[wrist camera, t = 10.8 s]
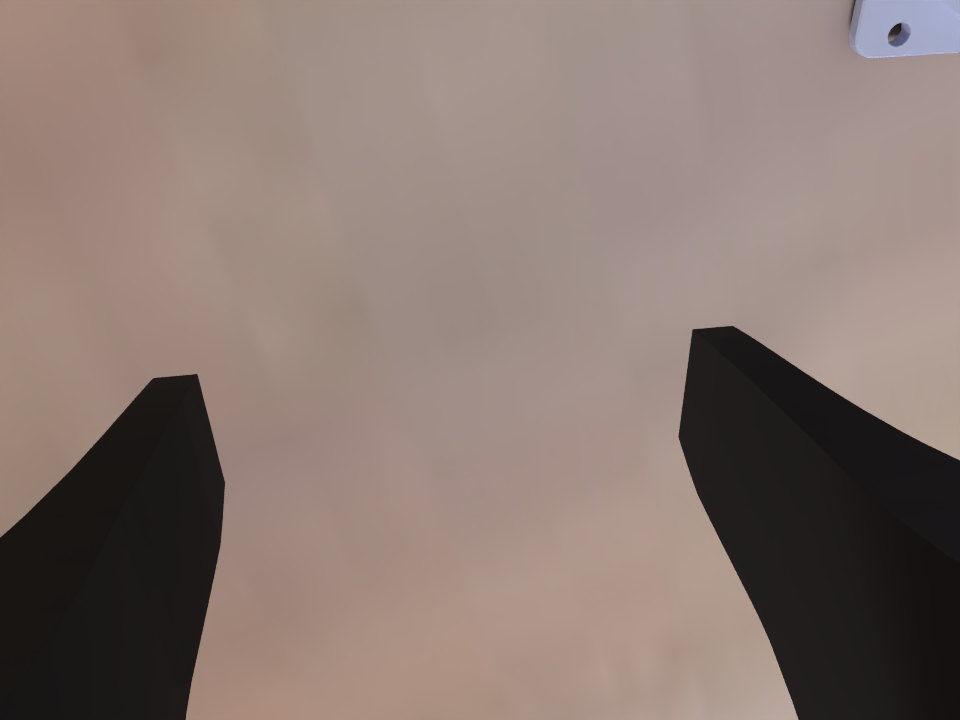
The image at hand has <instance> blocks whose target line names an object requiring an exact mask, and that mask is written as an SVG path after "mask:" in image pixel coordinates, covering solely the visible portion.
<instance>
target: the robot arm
mask: <svg viewBox="0 0 960 720" xmlns="http://www.w3.org/2000/svg"><path fill="white" fill-rule="evenodd" d="M898 23H901V32H900V34H899V36H898V37H897V38H895V39H894V40H893V41H890V42H888V34H889V32H890V29H891V28H892V27H893V26H895V25H896V24H898ZM849 43H850V45H851V48H852V49H853V50H854V51H855V52H857V53H858V54H860V55H862V56H863V57H867V58H882V57H898V56H913V55H929V54H944V53H960V0H856V3H855V7H854V12H853V17H852V22H851V27H850V32H849ZM679 440H680V443H681V446H682V450H683V453H684V456H685V459H686V462H687V465H688V468H689V471H690V474H691V477H692V480H693V483H694V485H695V488H696V491H697V494H698V496H699V498H700V500H701V502H702V504H703V506H704V508H705V510H706V512H707V514H708V516H709V519H710V521H711V523H712V525H713V527H714V529H715V531H716V533H717V535H718V537H719V539H720V541H721V543H722V545H723V547H724V549H725V551H726V552H727V554H728V556H729V558H730V560H731V562H732V564H733V566H734V568H735V570H736V572H737V574H738V576H739V578H740V580H741V582H742V584H743V586H744V588H745V590H746V592H747V594H748V596H749V598H750V600H751V602H752V604H753V606H754V608H755V610H756V612H757V614H758V616H759V618H760V620H761V623H762V625H763V627H764V629H765V632H766V634H767V636H768V638H769V640H770V643H771V646H772V648H773V651H774V654H775V656H776V659H777V662H778V664H779V667H780V670H781V672H782V675H783V678H784V680H785V683H786V686H787V688H788V691H789V694H790V696H791V699H792V702H793V705H794V707H795V710H796V713H797V716H798V719H799V720H960V460H958V459H956V458H953V457H951V456H949V455H947V454H945V453H943V452H941V451H939V450H937V449H935V448H933V447H930V446H928V445H926V444H924V443H922V442H920V441H919V440H917V439H915V438H913V437H911V436H909V435H907V434H905V433H903V432H901V431H900V430H898V429H896V428H894V427H893V426H891V425H889V424H887V423H886V422H884V421H882V420H880V419H879V418H877V417H875V416H873V415H872V414H870V413H868V412H866V411H865V410H863V409H861V408H860V407H858V406H856V405H855V404H853V403H851V402H850V401H848V400H846V399H845V398H843V397H842V396H840V395H838V394H837V393H835V392H834V391H832V390H831V389H829V388H827V387H826V386H824V385H823V384H821V383H820V382H818V381H817V380H815V379H814V378H812V377H811V376H809V375H807V374H806V373H804V372H803V371H801V370H800V369H798V368H797V367H795V366H794V365H792V364H791V363H789V362H788V361H786V360H785V359H783V358H782V357H781V356H779V355H778V354H776V353H775V352H773V351H772V350H770V349H769V348H767V347H766V346H764V345H763V344H761V343H760V342H758V341H756V340H755V339H753V338H752V337H750V336H749V335H747V334H745V333H744V332H742V331H740V330H739V329H737V328H735V327H734V326H726V327H715V328H704V329H693V330H692V338H691V346H690V353H689V361H688V368H687V376H686V384H685V391H684V399H683V407H682V414H681V422H680V430H679ZM224 489H225V481H224V477H223V473H222V470H221V466H220V462H219V458H218V454H217V450H216V446H215V442H214V438H213V434H212V430H211V426H210V422H209V418H208V414H207V410H206V406H205V402H204V399H203V395H202V391H201V387H200V383H199V379H198V375H197V374H194V375H183V376H172V377H161V378H153V379H152V380H151V381H150V382H149V384H148V385H147V386H146V387H145V388H144V389H143V390H142V391H141V392H140V394H139V395H138V396H137V397H136V398H135V399H134V400H133V401H132V403H131V404H130V405H129V406H128V407H127V408H126V409H125V411H124V412H123V413H122V414H121V415H120V416H119V417H118V419H117V420H116V421H115V422H114V423H113V424H112V425H111V427H110V428H109V429H108V430H107V431H106V432H105V433H104V435H103V436H102V437H101V438H100V439H99V440H98V441H97V442H96V443H95V445H94V446H93V447H92V448H91V449H90V450H89V451H88V452H87V453H86V454H85V455H84V457H83V458H82V459H81V460H80V461H79V462H78V463H77V464H76V465H75V466H74V467H73V469H72V470H71V471H70V472H69V473H68V474H67V475H66V476H65V477H64V478H63V479H62V480H61V481H60V482H59V483H58V484H57V485H56V486H54V487H53V488H52V489H51V490H50V491H49V492H48V493H47V494H46V495H45V496H44V497H43V498H42V499H41V500H40V501H39V502H38V503H37V504H36V505H35V506H34V507H33V508H32V509H31V510H30V511H29V512H28V513H27V514H26V515H25V516H24V517H23V518H22V519H21V520H20V521H19V522H17V523H16V524H15V525H14V526H13V527H12V528H11V529H10V530H8V531H7V532H6V533H5V534H4V535H3V536H2V537H0V720H186V712H187V706H188V700H189V694H190V688H191V682H192V677H193V672H194V668H195V663H196V659H197V654H198V649H199V645H200V640H201V635H202V631H203V626H204V621H205V617H206V612H207V607H208V603H209V598H210V593H211V589H212V584H213V579H214V574H215V569H216V564H217V560H218V554H219V549H220V544H221V532H222V520H223V505H224Z"/></svg>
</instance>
